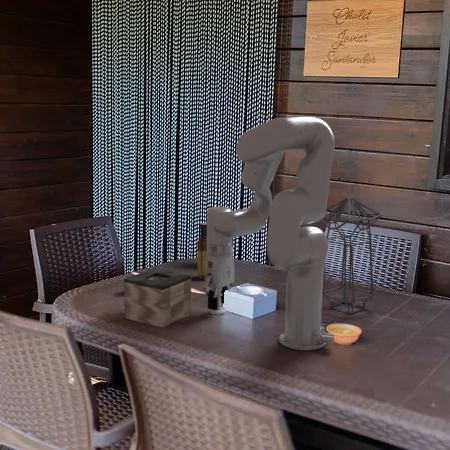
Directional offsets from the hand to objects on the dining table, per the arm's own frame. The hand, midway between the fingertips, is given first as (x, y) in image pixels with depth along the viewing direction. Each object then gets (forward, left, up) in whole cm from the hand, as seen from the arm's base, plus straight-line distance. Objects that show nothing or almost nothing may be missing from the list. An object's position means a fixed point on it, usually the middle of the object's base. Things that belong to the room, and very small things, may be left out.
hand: (218, 305), depth 208 cm
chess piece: (0, 0, -2) cm, 2 cm away
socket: (+13, +13, -2) cm, 18 cm away
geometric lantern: (-30, -26, -2) cm, 40 cm away
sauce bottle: (+24, -29, -2) cm, 38 cm away
